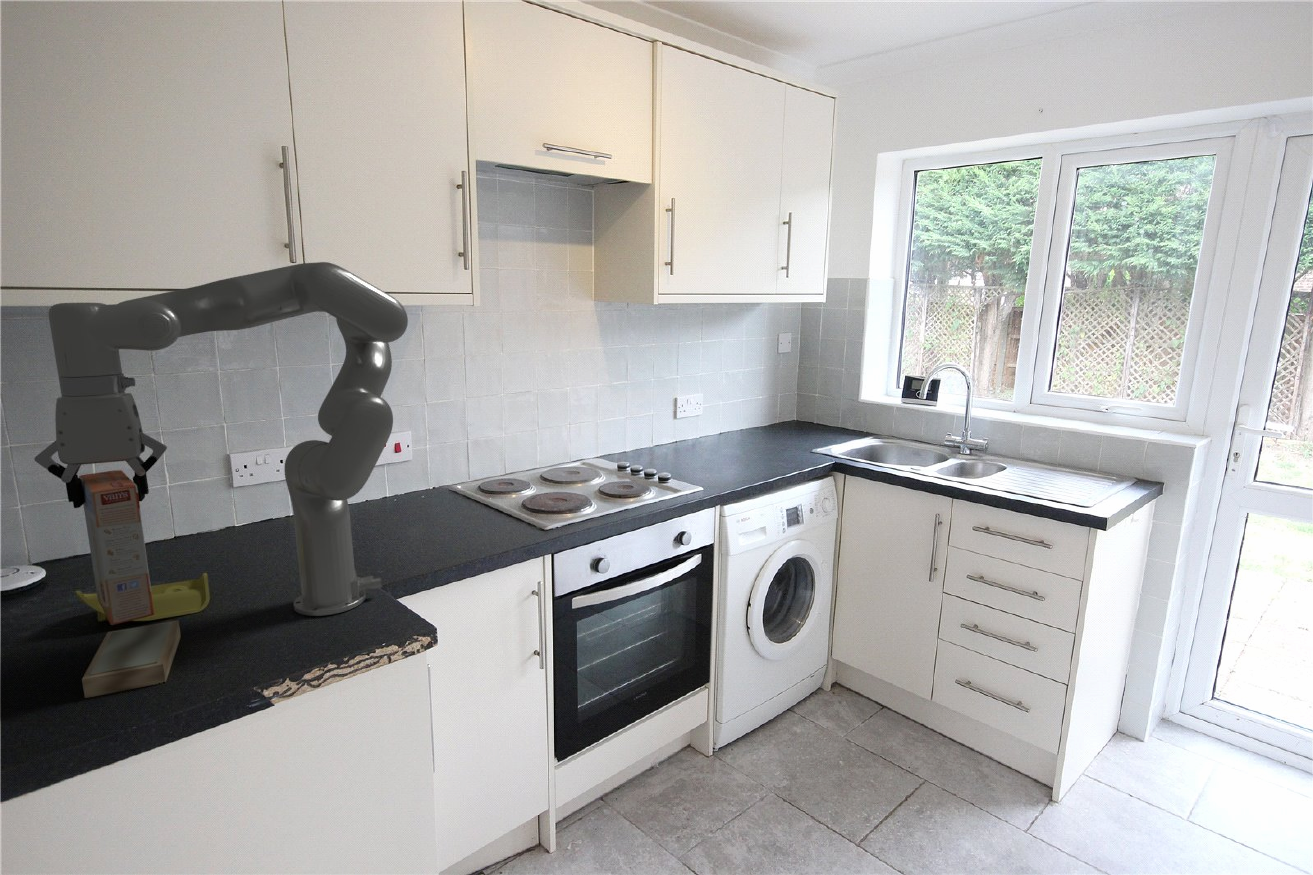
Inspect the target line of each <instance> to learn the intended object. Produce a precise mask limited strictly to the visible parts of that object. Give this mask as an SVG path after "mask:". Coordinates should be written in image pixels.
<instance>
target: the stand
mask: <svg viewBox="0 0 1313 875" xmlns="http://www.w3.org/2000/svg"><path fill="white" fill-rule="evenodd" d="M181 635H182V634H181V629H180V621H179V619H178V620H171V621H166V622H161V623H154V624H149V625H148V624H147V625H142V626H136V627H130V628H126V629H125V628H124V629H119V630H112V631H107V633H106V635H105V637H104V638H103V640H102V642H101V643H100V646H99V647H98V649H97V651H96V653H95V654H94V656H93V659H92V660H91V662H90V664H89V666H88V668H87V669H86V671H85V672H84V675H83V677H82V678H81V682H82V689H83V693H84V699H88V698H93V697H97V696H98V697H99V696H103V695H110V694H113V693H118V692H123V691H128V690H132V689H133V690H134V689H138V688H142V687H149V686H154V685H160V684H164V683H163V682H165V683H167V680H168V676H169V674H170V671H171V667H172V664H173V661H174V659H175V655H176V652H177V649H178V646H179V643H180V640H181ZM159 683H160V684H159Z"/></svg>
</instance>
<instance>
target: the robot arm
mask: <svg viewBox="0 0 1313 875" xmlns="http://www.w3.org/2000/svg"><path fill="white" fill-rule="evenodd" d="M314 312H319V313H320V312H322V313H324V312H325V313H327V314H329V315H330V316H332V317H334V318H335V320H336V324H337V327H338V329H339V332H340V333H341V336H342V338H343V341H344V345H345V358H344V360H343V364H342V365H341V368H340V370H339V372H338V374H337V376H336V378H335V380H334V381H333V383H332V385H331V387H330V389H329V391H328V393H327V394H326V396H325V398H324V399H323V402H322V403H321V406H320V407H319V410H318V414H317V421H318V424H319V427H320V429H322V431H323V432H325V434H327V435H329V436H331V438H330V439H329V441H328V442H327V441H324V440H318V439H311V440H305V441H303V442H302V441H301V442H300V443H298V444H297V445H294V447H293V448H291V450H290V451H289V452H288V454H287V455H286V458H285V461H284V467H283V468H284V469H283V470H284V478H285V482H286V485H287V486H286V488H287V490H288V494H289V497H290V502H291V507H292V513H293V514H292V516H293V522H294V532H295V533H294V535H295V540H296V541H295V543H296V552H297V562H298V569H299V570H298V571H299V579H300V588H301V589H300V590H301V594H300V595H299V596H297V597H296V598H295V599H294V601H293V609H294V611H295V612H296V613H298V614H300V615H303V616H309V617H324V616H330V615H331V616H332V615H336V614H340V613H343V612H347V611H349V610H352V609H354V608H356V607H358V606H359V605H361V604H362V603H363V602H364V601H365V600H366V590H370V589H371V590H375V589H379V588H383V585H382V578H381V577H376V578H374V575H369V576H364V577H361V576H358V574H357V571H356V569H355V560H354V558H355V557H354V550H353V549H354V548H353V538H352V536H353V535H352V528H351V527H352V526H351V514H350V508H349V502H348V500H349V499H352V498H353V497H354V496H356V495H357V494H358V493H359V492H360V491H361V490H362V489H363V488H364V486H365V485H366V483H367V482H368V480H369V478H370V476H371V474H372V473H373V471H374V468H375V467H376V465H377V463H378V461H379V459H380V457H381V455H382V453H383V451H384V449H385V447H386V445H387V443H388V441H389V439H390V436H391V434H392V431H393V426H394V414H393V411H392V408H391V406H390V404H389V403H388V402H387V401H386V400H385V399H384V398H383V397H382V394H383V392H384V390H385V388H386V385H387V383H388V380H389V378H390V375H391V372H392V366H393V364H392V362H393V360H392V352H391V348H390V343H392V342H396V341H398V339H400V338H401V337H402V336H403V335H404V334H405V333H406V331H407V327H408V323H409V320H408V319H409V318H408V313H407V310H405V307H404V306H403V305H402V303H401V302H400V301H399V300H397V299H396V298H395V297H393V296H392V295H390V294H389V293H387V292H385V291H384V290H382V289H380V288H378V287H376V286H375V285H373V284H371V283H369V281H367V280H365V279H363V278H361V277H359V276H358V275H356V274H354V273H352V272H351V271H349V270H347V269H345V268H343V267H341V266H340V265H338V264H335V263H331V262H327V261H320V262H304V263H298V264H293V265H287V266H283V267H277V268H273V269H268V270H267V269H266V270H264V271H260V272H259V271H258V272H253V273H249V274H244V275H243V274H242V275H238V276H234V277H228V278H224V279H220V280H215V281H212V282H208V283H204V284H201V285H196V286H192V287H187V288H186V287H185V288H183V289H178V290H173V291H166V292H162V293H157V294H152V295H148V296H147V295H146V296H143V297H138V298H132V299H127V300H124V301H121V302H118V303H115V304H106V303H101V302H59V303H56V304H53V305H51V307H50V308H49V310H48V320H49V327H50V332H51V338H52V339H51V340H52V346H53V351H54V358H55V364H56V369H57V375H58V382H59V389H60V394H61V396H60V397H58V398H56V402H55V419H54V420H55V439H56V440H54V441H53V442H52V443H50V444H49V445H48V446H47V447H46V448H44V449H43V450H42V451H41V452H39V453H38V454H37V455H36V456H35V457H34V461H35V462H36V463H38V465H40V466H41V467H42V468H44V469H46V470H47V471H48V472H49V473H50V474H52V475H53V476H55V477H56V478H58V479H60V480H61V481H62V482H63V483H65V488H66V494H67V500H68V502H69V503H72V504H73V508H74V509H79V508H81V507H82V506H83V504H84V503H85V501H84V494H83V487H82V481H81V479H80V478H79V476H78V472H79V470H80V468H81V466H82V465H95V464H104V463H106V464H107V463H115V462H117V463H118V462H126V464H127V465H128V466H129V467H130V469H132V470H133V472H134V476H132V481H133V482H134V483H135V484H136V485H137V489H138V497H139V502H143V501H144V500H145V498H146V495H148V494H150V493H149V484H148V483H149V482H148V476H147V472H148V471H150V469H151V468H152V467H154V465H155V464H156V463H157V462H159V459H161V457H162V456H163V454H164V453H165V452H166V451H167V449H168V447H167V445H165V444H164V443H162V442H160V441H159V440H156V439H155V438H153V437H151V436H149V435H147V434H146V433H144V431H143V427H142V423H141V422H142V421H141V417H140V415H139V411H138V408H137V404H136V402H135V398H134V396H133V394H132V393H131V392H128V393H127V392H126V390H127V388H130V387H136V379H135V377H128V376H126V375H125V374H124V373H123V370H122V364H121V356H120V351H119V350H134V351H135V350H136V351H147V352H149V351H150V352H151V351H153V352H155V351H159V350H160V351H161V350H164V349H167V348H169V347H170V346H172V345H173V344H175V342H176V341H178V339H179V338H182V337H187V336H191V335H196V334H203V333H209V332H220V331H227V332H228V331H239V330H247V329H252V328H255V327H259V326H263V325H267V324H271V323H275V322H279V321H282V320H287V319H290V318H295V317H298V316H299V317H300V316H303V315H307V314H310V313H314ZM146 447H147V448H149V449H151V450H152V453H151V454H150V456H148V458H147V459H145V460H143V458H142V457H140V456H141V454H143V453H144V452H146V451H145V450H146ZM56 453H57V455H58V460H59V462H61V463H63V464H65V465H66V466H64V465H62V464H60V463H58V462H56V461H55V460H54V459H53V456H54V454H56Z"/></svg>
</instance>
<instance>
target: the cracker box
mask: <svg viewBox="0 0 1313 875" xmlns="http://www.w3.org/2000/svg"><path fill="white" fill-rule="evenodd" d="M78 478H80V479H81V481H82V487H83V494H84V501H85V503H84V504H83V505H82V506H83V512H84V518H85V524H86V531H87V538H88V543H89V549H90V550H89V551H90V556H91V563H92V571H93V577H94V583H95V589H96V593H97V598H98V601H99V603H100V605H101V607H102V608H103V610H104V613H105V615H106V616H107V618H108V620H107V621H108V623H109V625H110V626H115V625H119V624H123V623H126V622H133V621H132V620H136V619H140V618H145V617H148V616H152V615H154V607H153V599H152V592H151V586H152V585H151V579H150V572H149V565H148V558H147V551H146V550H147V549H146V543H145V537H144V536H145V535H144V530H143V528H144V527H143V520H142V513H141V505H140V501H139V497H138V489H137V485H136V484H135V483H134V482H133V479H131V478H130V477H129V476H128V475H127V474H126V473H124V471H122V470H120V469H119V470H108V471H101V472H93V473H87V474H86V473H85V474H81V475H79V476H78Z"/></svg>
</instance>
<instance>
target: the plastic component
mask: <svg viewBox="0 0 1313 875" xmlns="http://www.w3.org/2000/svg"><path fill="white" fill-rule="evenodd" d="M151 592H152V599H153V607H154V615H152V616H148V617H145V618H140V619H136V620H132V621H131V622H148V621H156V620H161V619H168V618H174V617H180V616H185V615H192V614H197V613H200V612H202V611H203V610H204V609H205V608H207V606H208V605H209V602H210V599H211V596H210V587H209V577H208V573H207V572H204V573H203V572H202V574H201V575H200V577H199V578H196V579H195V578H194V579H190V580H183V581H176V582H170V583H161V584H156V585H151ZM75 595H76V597H77V599H78V600H79V601H80V602H81V603H83V604H87V605H88V607H90V608H91V609H93V610H95V611H97V612H96V613H97V621H98V622H106V621H109V620H108V618H107V616H106V615H105V613H104V610H103V608H102V607H101V605H100V603H99V601H98V598H97V592H95V593H83V592H82V591H81V590H75Z"/></svg>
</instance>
